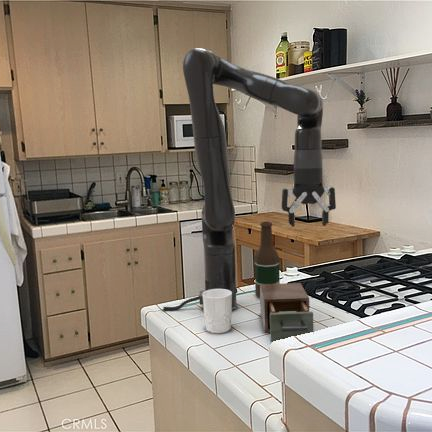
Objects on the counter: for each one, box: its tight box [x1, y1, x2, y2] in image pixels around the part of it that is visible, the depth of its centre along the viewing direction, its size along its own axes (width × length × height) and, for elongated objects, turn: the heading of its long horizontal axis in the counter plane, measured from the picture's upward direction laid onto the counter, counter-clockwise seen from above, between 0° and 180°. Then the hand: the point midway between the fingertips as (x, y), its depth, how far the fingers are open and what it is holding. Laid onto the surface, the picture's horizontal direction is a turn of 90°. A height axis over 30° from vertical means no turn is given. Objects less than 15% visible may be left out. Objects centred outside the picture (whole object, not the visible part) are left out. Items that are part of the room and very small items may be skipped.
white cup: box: [202, 289, 233, 334], centre depth 135 cm, size 8×8×10 cm
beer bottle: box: [254, 221, 281, 299], centre depth 160 cm, size 8×8×24 cm
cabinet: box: [259, 282, 310, 334], centre depth 137 cm, size 14×12×9 cm
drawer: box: [268, 301, 314, 343], centre depth 126 cm, size 17×10×7 cm, turn 179°
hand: (308, 225), depth 137 cm, fingers open, 8 cm apart
